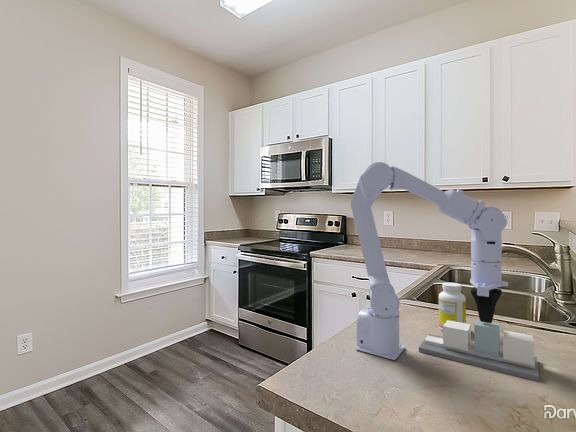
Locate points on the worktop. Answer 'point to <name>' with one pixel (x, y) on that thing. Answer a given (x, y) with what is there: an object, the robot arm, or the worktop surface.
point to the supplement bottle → (451, 304)
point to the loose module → (487, 338)
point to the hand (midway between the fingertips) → (486, 321)
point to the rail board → (459, 348)
